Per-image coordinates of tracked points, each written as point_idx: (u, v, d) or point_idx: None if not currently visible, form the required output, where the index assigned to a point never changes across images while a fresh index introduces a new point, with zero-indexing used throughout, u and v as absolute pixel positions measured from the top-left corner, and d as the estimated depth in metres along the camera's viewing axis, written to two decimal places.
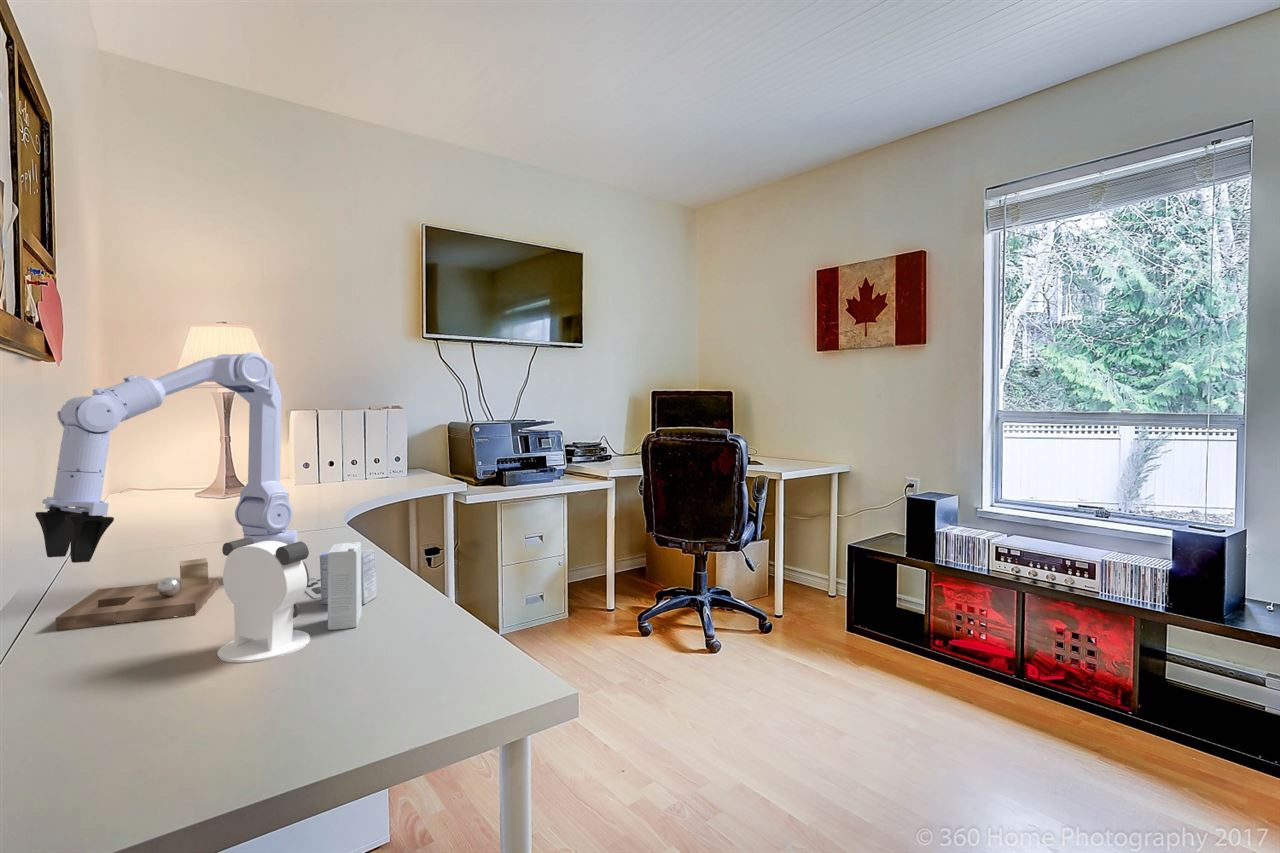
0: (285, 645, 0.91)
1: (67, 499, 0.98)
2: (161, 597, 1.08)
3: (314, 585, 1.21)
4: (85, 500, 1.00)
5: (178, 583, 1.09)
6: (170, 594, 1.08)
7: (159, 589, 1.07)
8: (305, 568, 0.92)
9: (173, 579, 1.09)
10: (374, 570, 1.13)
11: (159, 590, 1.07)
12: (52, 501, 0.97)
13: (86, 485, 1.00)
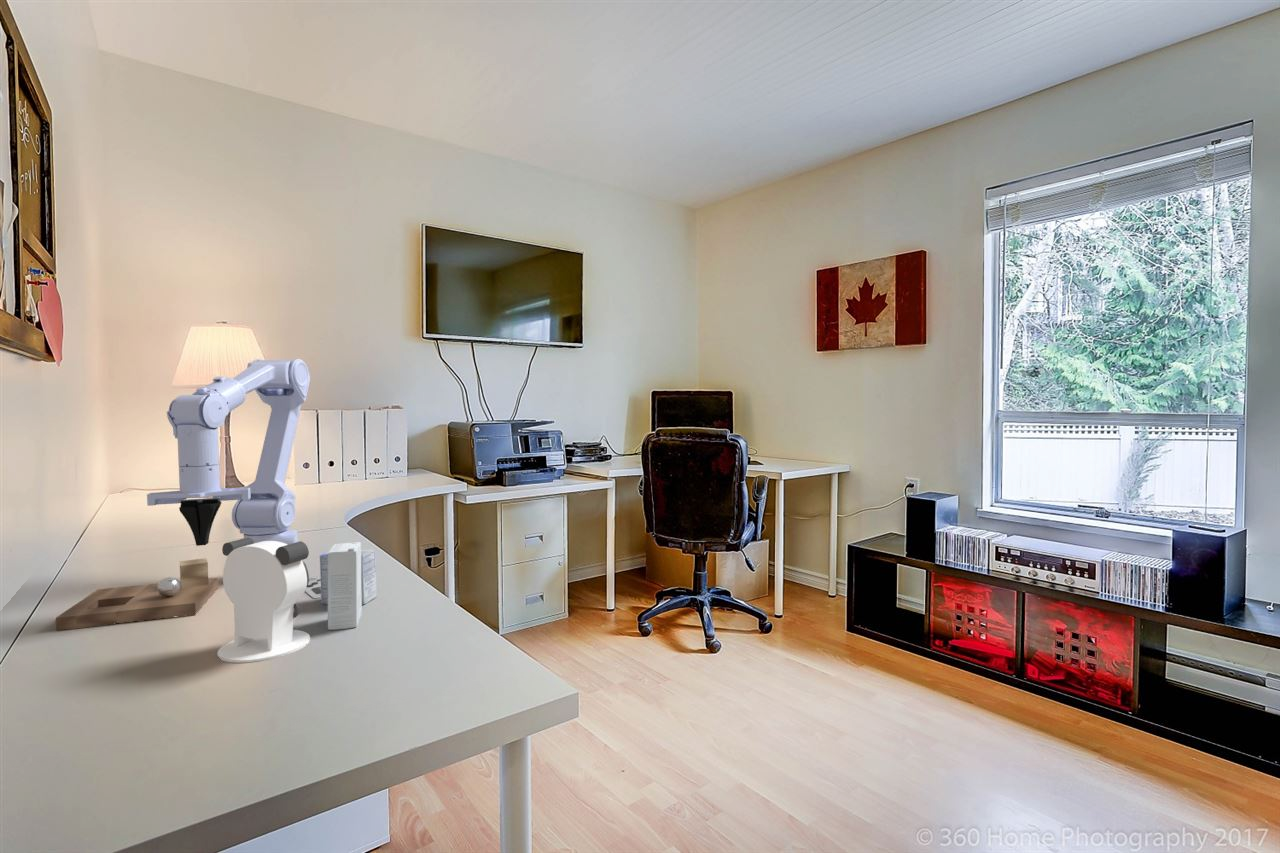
0: (285, 645, 0.91)
1: (210, 491, 1.09)
2: (161, 597, 1.08)
3: (314, 585, 1.21)
4: (220, 489, 1.11)
5: (178, 583, 1.09)
6: (170, 594, 1.08)
7: (159, 589, 1.07)
8: (305, 568, 0.92)
9: (173, 579, 1.09)
10: (374, 570, 1.13)
11: (159, 590, 1.07)
12: (202, 494, 1.07)
13: (218, 476, 1.11)
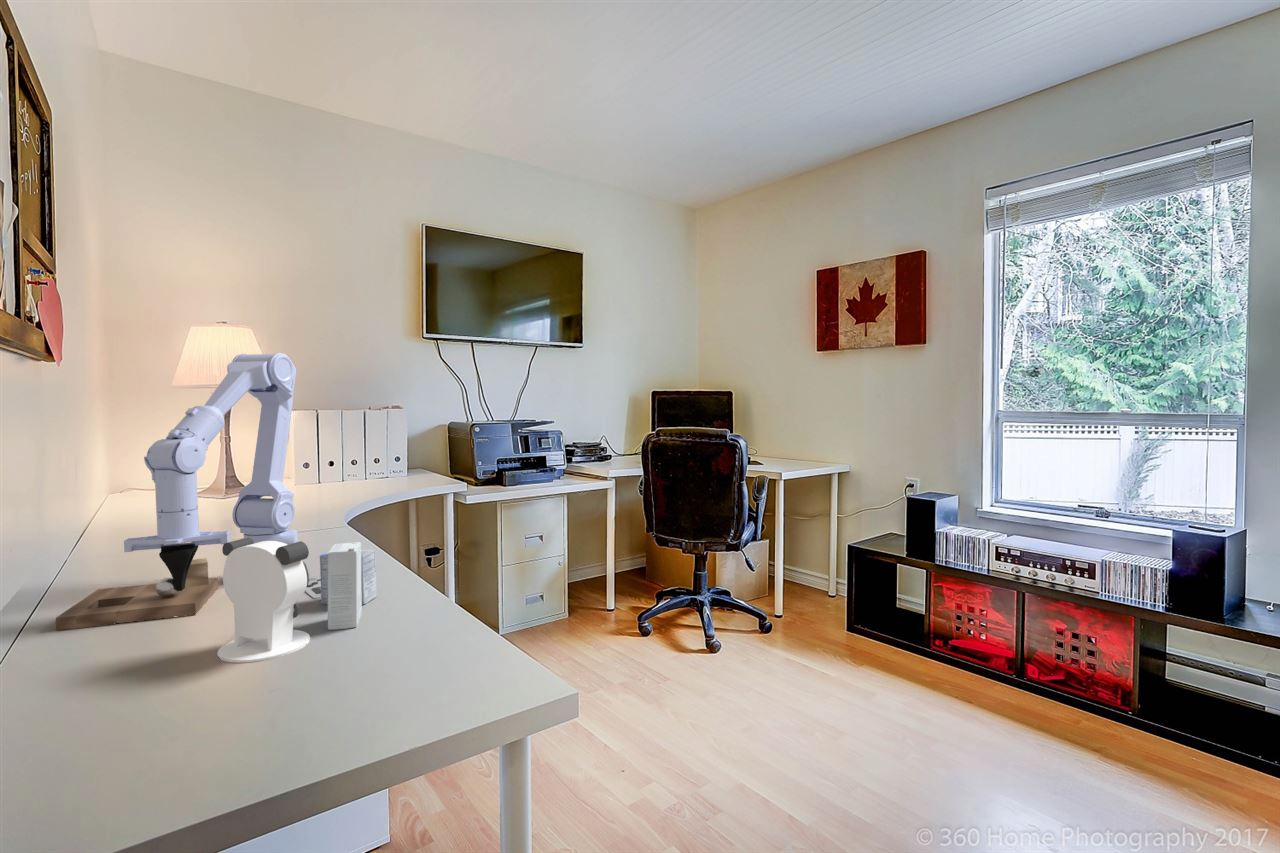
0: (285, 645, 0.91)
1: (189, 536, 1.08)
2: (161, 597, 1.08)
3: (314, 585, 1.21)
4: (198, 533, 1.10)
5: None
6: (169, 594, 1.08)
7: (158, 590, 1.07)
8: (305, 568, 0.92)
9: (170, 579, 1.09)
10: (374, 570, 1.13)
11: (158, 591, 1.07)
12: (180, 540, 1.06)
13: (197, 520, 1.10)
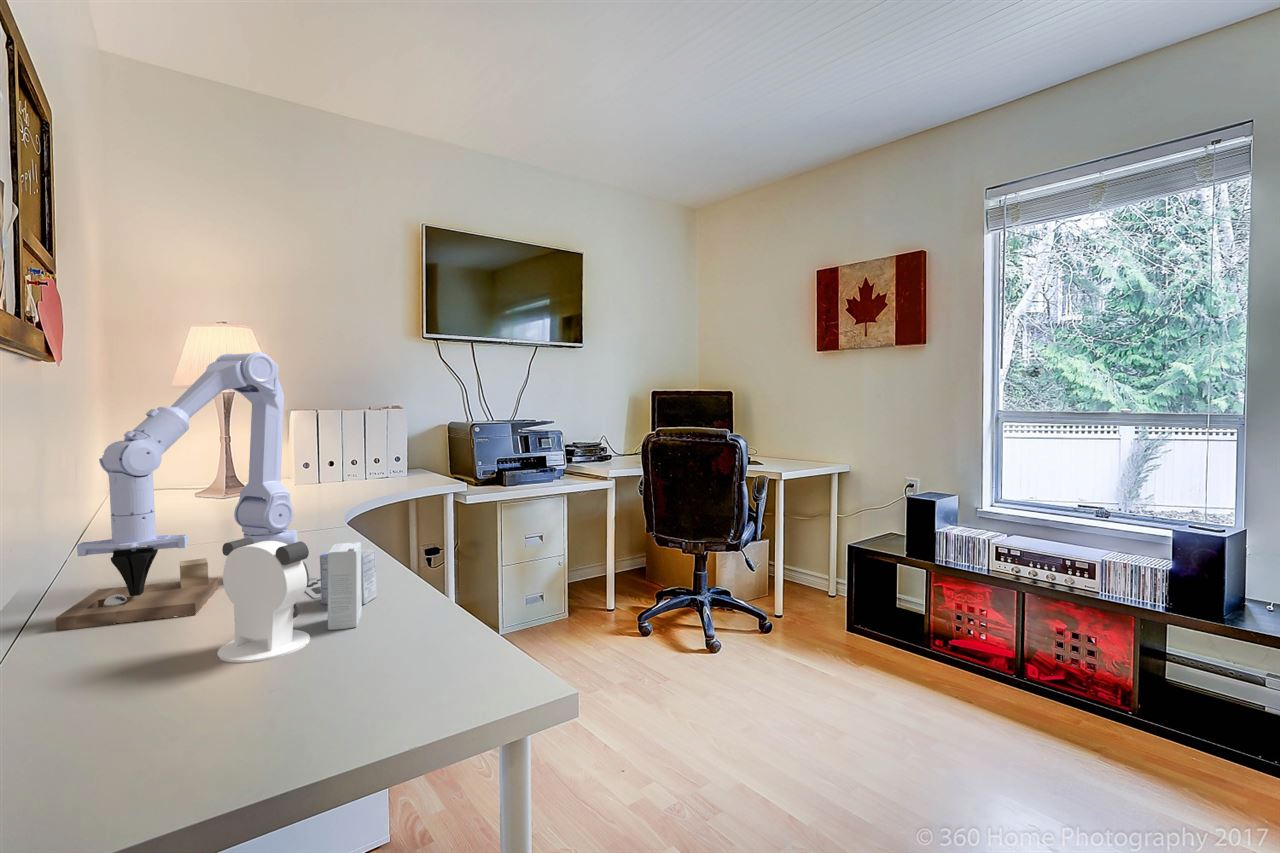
0: (285, 645, 0.91)
1: (144, 540, 1.06)
2: (161, 597, 1.08)
3: (314, 585, 1.21)
4: (155, 537, 1.08)
5: None
6: None
7: (112, 599, 1.05)
8: (305, 568, 0.92)
9: None
10: (374, 570, 1.13)
11: (111, 599, 1.05)
12: (134, 544, 1.04)
13: (153, 523, 1.08)
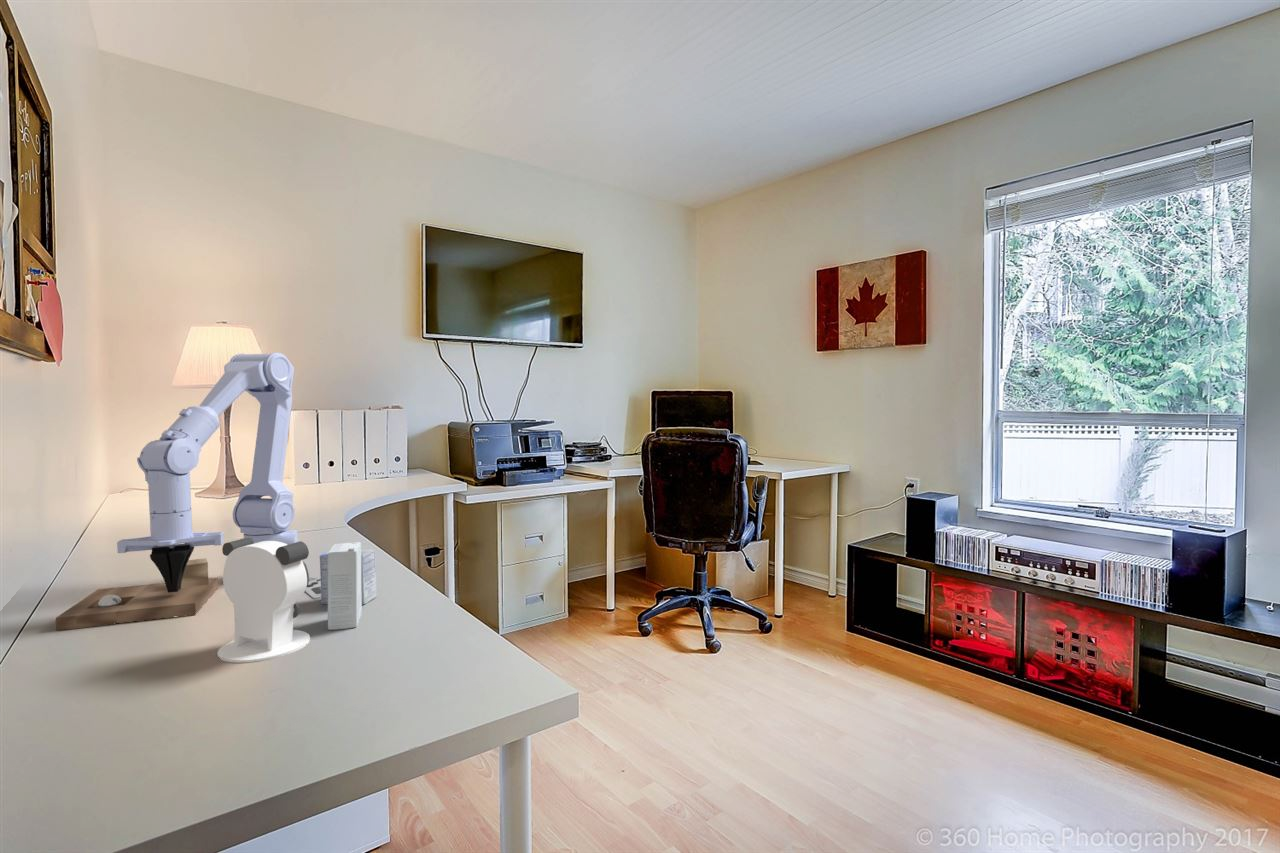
0: (285, 645, 0.91)
1: (182, 537, 1.08)
2: (161, 597, 1.08)
3: (314, 585, 1.21)
4: (192, 534, 1.10)
5: None
6: None
7: (102, 600, 1.05)
8: (305, 568, 0.92)
9: (119, 604, 1.06)
10: (374, 570, 1.13)
11: (101, 601, 1.05)
12: (173, 541, 1.06)
13: (190, 521, 1.09)
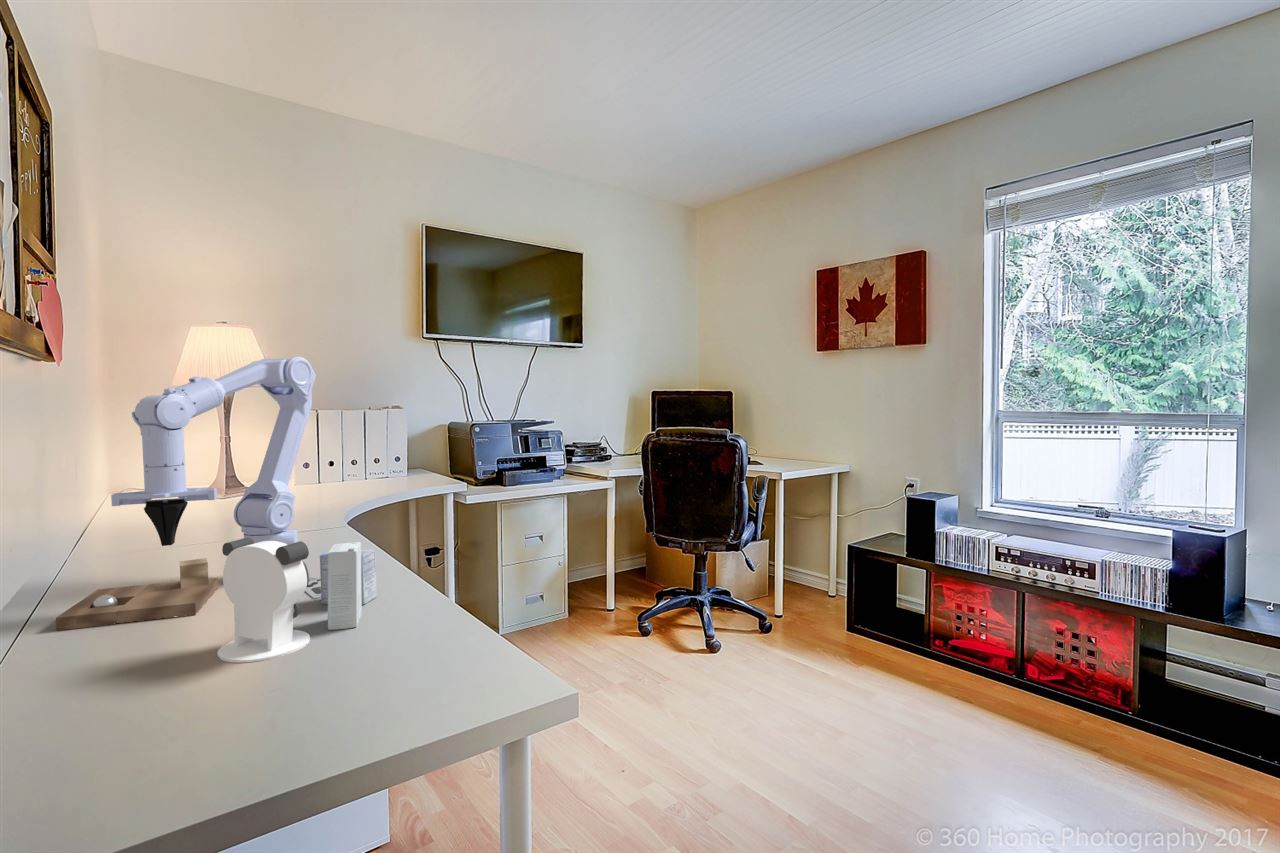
0: (285, 645, 0.91)
1: (176, 491, 1.09)
2: (161, 597, 1.08)
3: (314, 585, 1.21)
4: (186, 489, 1.11)
5: None
6: None
7: (95, 602, 1.05)
8: (305, 568, 0.92)
9: (113, 601, 1.06)
10: (374, 570, 1.13)
11: (94, 603, 1.05)
12: (167, 494, 1.07)
13: (184, 476, 1.11)
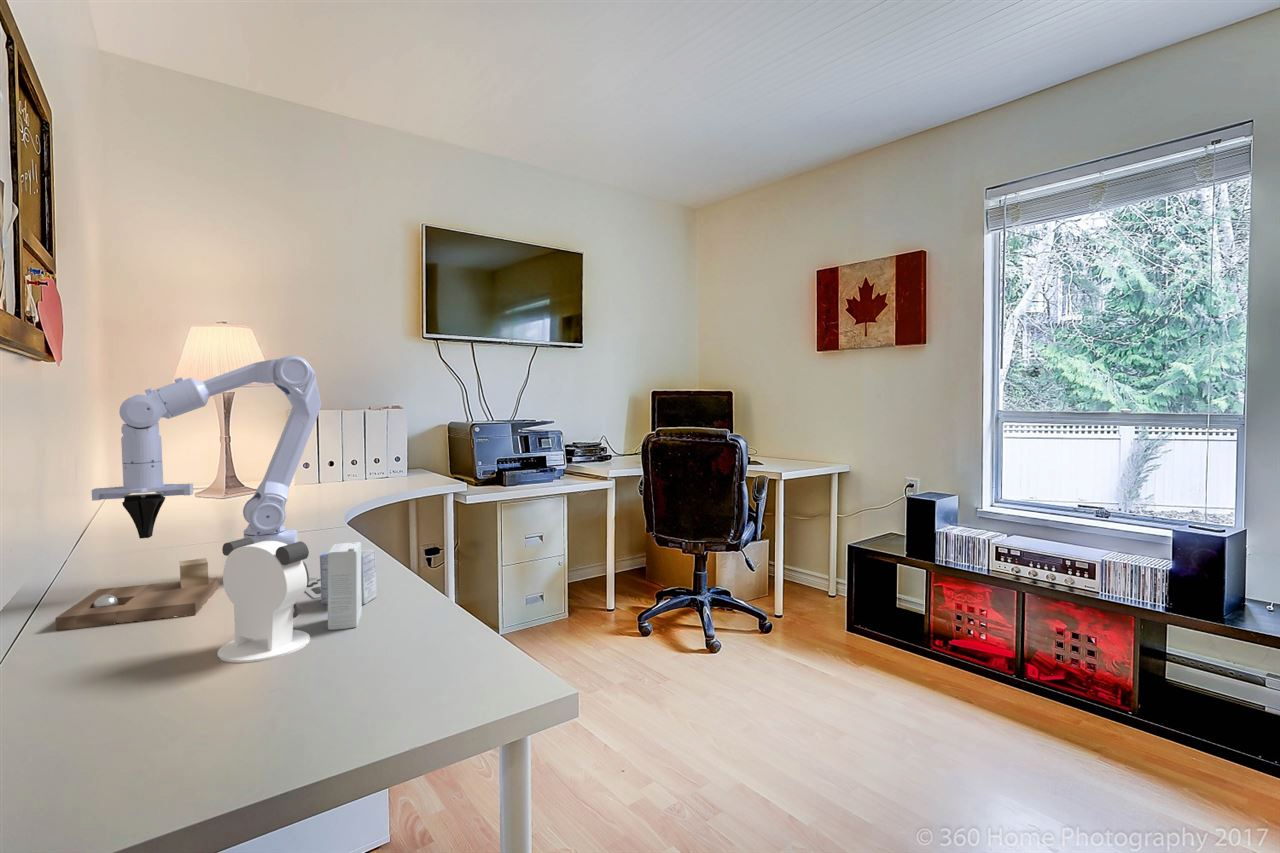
0: (285, 645, 0.91)
1: (153, 486, 1.15)
2: (161, 597, 1.08)
3: (314, 585, 1.21)
4: (163, 485, 1.17)
5: None
6: None
7: (96, 602, 1.05)
8: (305, 568, 0.92)
9: (114, 601, 1.06)
10: (374, 570, 1.13)
11: (95, 602, 1.05)
12: (144, 489, 1.13)
13: (161, 472, 1.17)
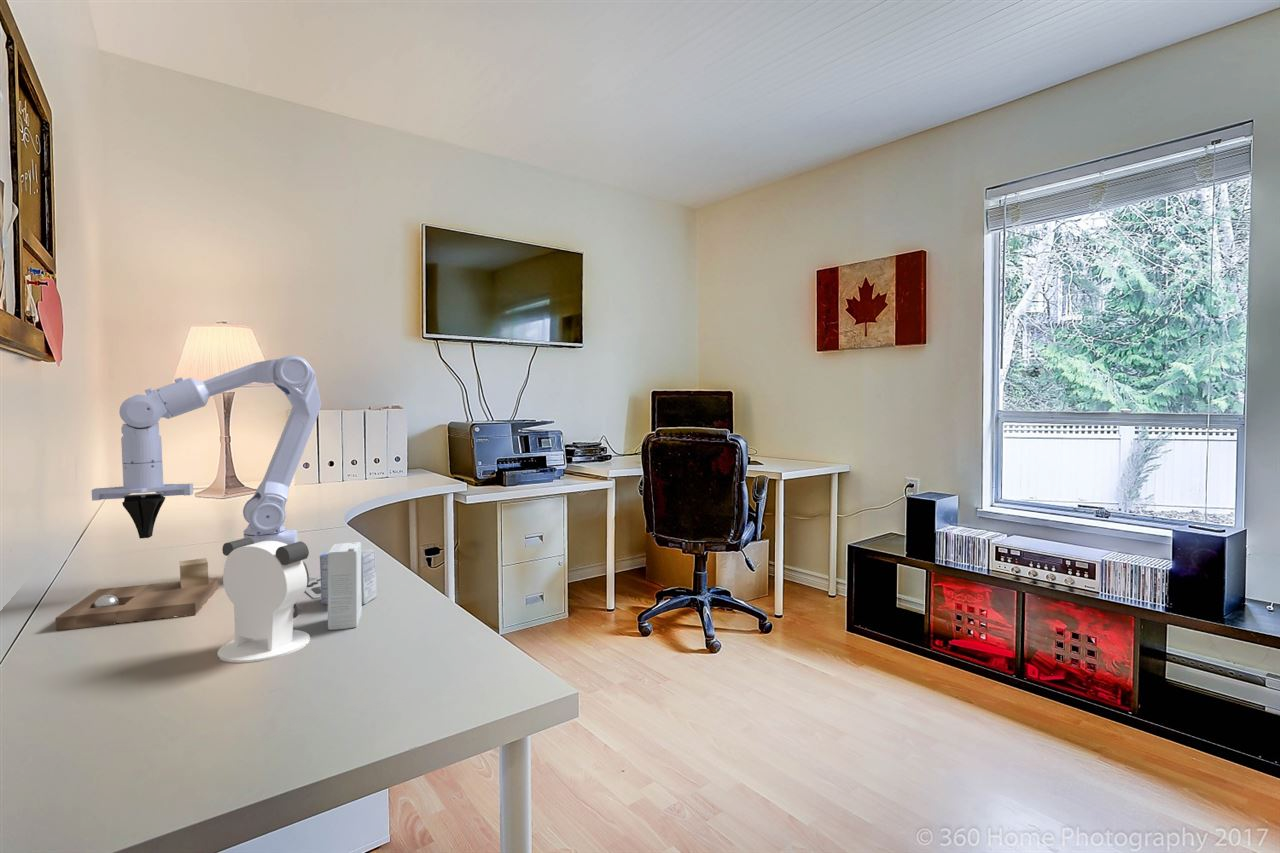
0: (285, 645, 0.91)
1: (153, 486, 1.15)
2: (161, 597, 1.08)
3: (314, 585, 1.21)
4: (163, 485, 1.17)
5: None
6: None
7: (97, 601, 1.05)
8: (305, 568, 0.92)
9: (115, 602, 1.06)
10: (374, 570, 1.13)
11: (96, 602, 1.05)
12: (144, 489, 1.13)
13: (161, 472, 1.17)
